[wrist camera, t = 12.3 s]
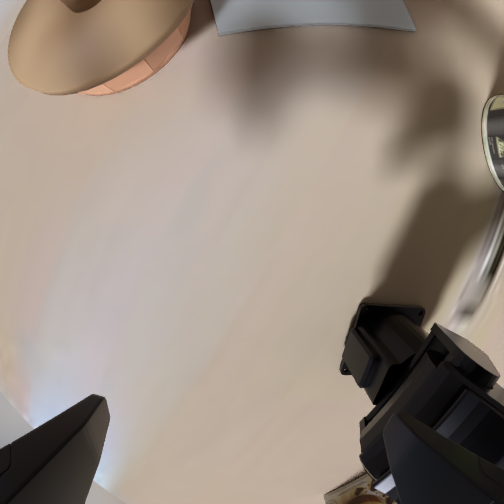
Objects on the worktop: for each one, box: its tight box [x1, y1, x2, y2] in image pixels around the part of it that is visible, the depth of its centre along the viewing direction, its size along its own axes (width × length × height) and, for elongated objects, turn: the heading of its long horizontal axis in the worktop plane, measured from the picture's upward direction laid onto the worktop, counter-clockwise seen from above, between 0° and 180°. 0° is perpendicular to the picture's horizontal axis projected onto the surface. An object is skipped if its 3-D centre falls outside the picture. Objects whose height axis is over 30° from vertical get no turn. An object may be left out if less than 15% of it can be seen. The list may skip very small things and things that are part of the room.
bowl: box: [77, 6, 192, 96], centre depth 13 cm, size 11×11×4 cm
